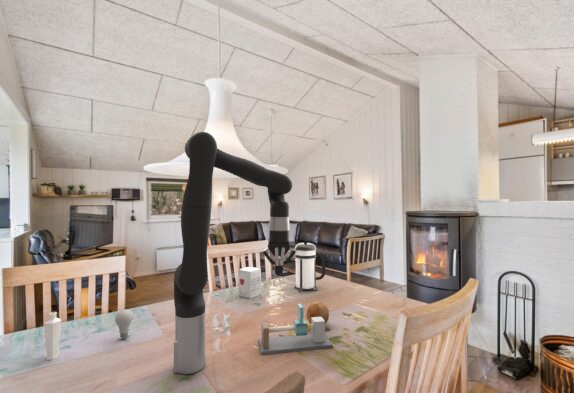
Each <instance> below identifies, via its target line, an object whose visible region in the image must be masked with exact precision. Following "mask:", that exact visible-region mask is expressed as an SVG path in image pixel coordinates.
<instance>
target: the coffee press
mask: <svg viewBox="0 0 574 393" xmlns="http://www.w3.org/2000/svg"><path fill="white" fill-rule="evenodd" d="M294 250H295V251H296V253H295V254H294V257H295V284H294V286H293V287H294V288H295V287H296V288H298V289H299V293H302V292H304V290H310V289H313V290H314V289H316V290H317V289H318V287H317V285H316V284H317V283H316V282H317V281H320V280H322V279H324V277H325V276H326V260H325V256H324V254H322V253H316V251H317V247H316V245H315V244H314V243H310V242H308V239H306V238H305V239H303V242H299V243H297V244H296V245H295V247H294ZM316 257H320V258H321V274H320V276H316V272H317V270H316V269H317V268H316V266H317V264H316V260H317V259H316ZM301 291H302V292H301ZM317 291H318V290H317Z"/></svg>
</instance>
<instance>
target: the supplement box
mask: <svg viewBox="0 0 574 393" xmlns="http://www.w3.org/2000/svg"><path fill="white" fill-rule="evenodd" d="M261 271H262V269H261V268H258V267H253V266H247V267H244V268H240V269H238V296H239V297H242V298H246V299H250V300H251V299H254V298H256V297H258V296H260V295H261V275H262V274H261Z"/></svg>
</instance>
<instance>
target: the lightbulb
mask: <svg viewBox="0 0 574 393" xmlns="http://www.w3.org/2000/svg"><path fill="white" fill-rule="evenodd" d="M133 319H134V314H133V312H132V311H131V310H128V309H122V310H120V311H119V312H117V313H116V315H115V318H114V321H115V324H116V326H117V327H118V330H119V331H118V332H119V334H120V335H119V336H120V339H122V340H124V339H127V338H128V336H129V331H130V330H129V329H130V326H131V323H132V321H133Z"/></svg>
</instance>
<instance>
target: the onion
mask: <svg viewBox="0 0 574 393" xmlns="http://www.w3.org/2000/svg"><path fill="white" fill-rule="evenodd" d="M305 314H306V315H305V316H306V319H307V322H309V323H310V324H311V317H322V318H323V319H324V321H325V325H326V324H327V323H328V321H329V318H330V312H329V309H328V306H327V305H326V303H323V302H321V301H320V300H319V301H314V302H312V303H311V304H310V305H309V306H308V308H307V310H306V313H305Z"/></svg>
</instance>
